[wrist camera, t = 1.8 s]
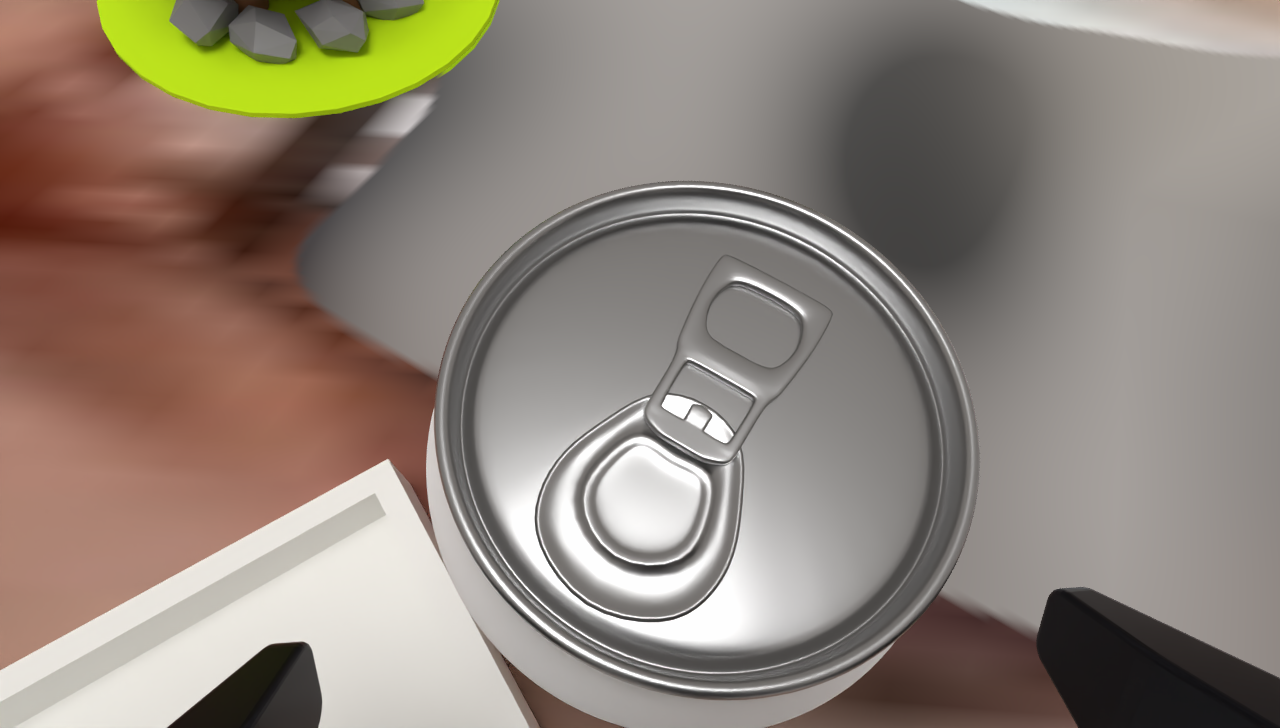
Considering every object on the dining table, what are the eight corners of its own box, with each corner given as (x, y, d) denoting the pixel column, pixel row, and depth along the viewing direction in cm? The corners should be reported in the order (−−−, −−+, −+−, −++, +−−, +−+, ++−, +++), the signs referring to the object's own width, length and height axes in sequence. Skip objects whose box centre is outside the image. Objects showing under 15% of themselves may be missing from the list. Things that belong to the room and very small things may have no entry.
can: (457, 609, 17) (232, 494, 6) (594, 409, 19) (611, 75, 9) (678, 758, 16) (889, 944, 5) (790, 525, 18) (1090, 315, 8)
